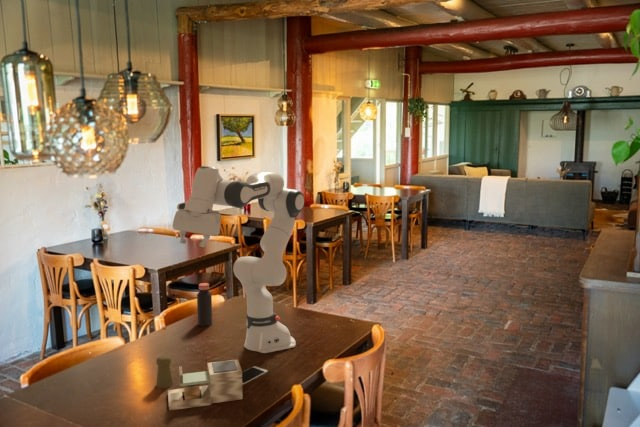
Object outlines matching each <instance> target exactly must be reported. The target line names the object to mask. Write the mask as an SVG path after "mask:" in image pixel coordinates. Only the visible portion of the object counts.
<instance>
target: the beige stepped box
mask: <svg viewBox="0 0 640 427" xmlns="http://www.w3.org/2000/svg"><path fill="white" fill-rule="evenodd" d="M206 365H207V371H208V373H209V377H210V383H207V384H205V385H199V387H200V398H199V399H191V400H185V399H184V398H183V397H184V387H182V388H176V389H167V399H168V400H167V401H168V411H175V410H182V409H184V410H185V409H190V408H198V407H205V406H211V405H212V404H215V403H217V404H219V403H223V402H231V401H238V400H243V385H242V372H243V370H242V367H241V364H240V362H239V359H231V360H221V361H214V362H212V361H211V362H207V364H206Z"/></svg>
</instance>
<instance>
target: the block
mask: <svg viewBox="0 0 640 427" xmlns="http://www.w3.org/2000/svg"><path fill="white" fill-rule="evenodd" d="M199 386H200V384H196V385H188V386H183V388H184V396H183V397H184V400H191V399H199V398H201V394H200V387H199Z"/></svg>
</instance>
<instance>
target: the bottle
mask: <svg viewBox="0 0 640 427" xmlns="http://www.w3.org/2000/svg"><path fill="white" fill-rule="evenodd" d="M198 290H199V291H198V293H197V294H196V301H197V302H196V304H197V305H196V306H197V307H196V309H197V325H198V326H199V327H209V326H211V325H212V324H213V309H212V308H213V304H212V293H211V292H210V291H209V290H210V283H208V282H202V283H201V282H200V283H199V284H198Z"/></svg>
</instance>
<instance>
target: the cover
mask: <svg viewBox="0 0 640 427" xmlns="http://www.w3.org/2000/svg"><path fill="white" fill-rule="evenodd" d="M178 377H179V386H180V387H184V386H188V385H196V384H199V385H202V384H203V385H204V384H208V383H210V377H209V373H208V370H206V371H197V372H196V371H195V372H188V373H187V372H186V373H183V366H182V365H181V366H180V365H179V366H178Z"/></svg>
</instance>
